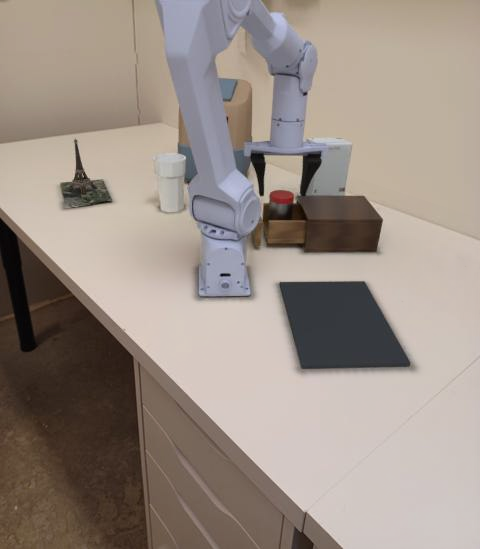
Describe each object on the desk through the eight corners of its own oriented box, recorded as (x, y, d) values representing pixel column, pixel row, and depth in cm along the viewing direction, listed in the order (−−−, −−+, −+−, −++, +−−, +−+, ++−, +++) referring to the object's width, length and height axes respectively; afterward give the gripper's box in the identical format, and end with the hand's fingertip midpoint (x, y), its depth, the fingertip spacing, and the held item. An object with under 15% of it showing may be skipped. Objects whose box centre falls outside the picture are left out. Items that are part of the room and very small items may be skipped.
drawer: (231, 246, 86) (232, 222, 83) (229, 222, 95) (229, 200, 92) (321, 246, 87) (325, 222, 85) (310, 222, 96) (313, 200, 94)
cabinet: (304, 252, 87) (308, 219, 83) (293, 225, 97) (296, 195, 93) (376, 252, 88) (383, 219, 84) (358, 225, 98) (364, 195, 94)
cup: (152, 212, 100) (149, 161, 95) (161, 200, 106) (158, 152, 100) (183, 215, 100) (181, 163, 94) (190, 203, 105) (189, 154, 100)
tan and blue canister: (174, 185, 115) (170, 83, 103) (192, 164, 129) (190, 72, 117) (242, 191, 112) (246, 88, 101) (253, 170, 127) (257, 77, 115)
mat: (409, 366, 61) (410, 362, 60) (301, 368, 60) (302, 365, 59) (363, 284, 78) (364, 281, 77) (279, 284, 77) (279, 281, 76)
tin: (292, 234, 89) (296, 198, 85) (268, 234, 88) (271, 198, 85) (288, 224, 93) (292, 189, 89) (266, 224, 92) (268, 189, 89)
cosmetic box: (309, 213, 102) (317, 144, 95) (297, 203, 107) (304, 137, 100) (343, 210, 105) (354, 142, 97) (331, 200, 110) (340, 135, 102)
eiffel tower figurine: (113, 203, 104) (107, 142, 97) (65, 208, 100) (54, 145, 94) (102, 180, 116) (96, 125, 109) (59, 185, 112) (49, 127, 105)
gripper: (325, 113, 84) (316, 186, 91) (243, 112, 83) (241, 186, 90) (334, 123, 78) (324, 200, 85) (247, 121, 77) (244, 200, 84)
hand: (282, 194), depth 87 cm, fingers open, 7 cm apart
